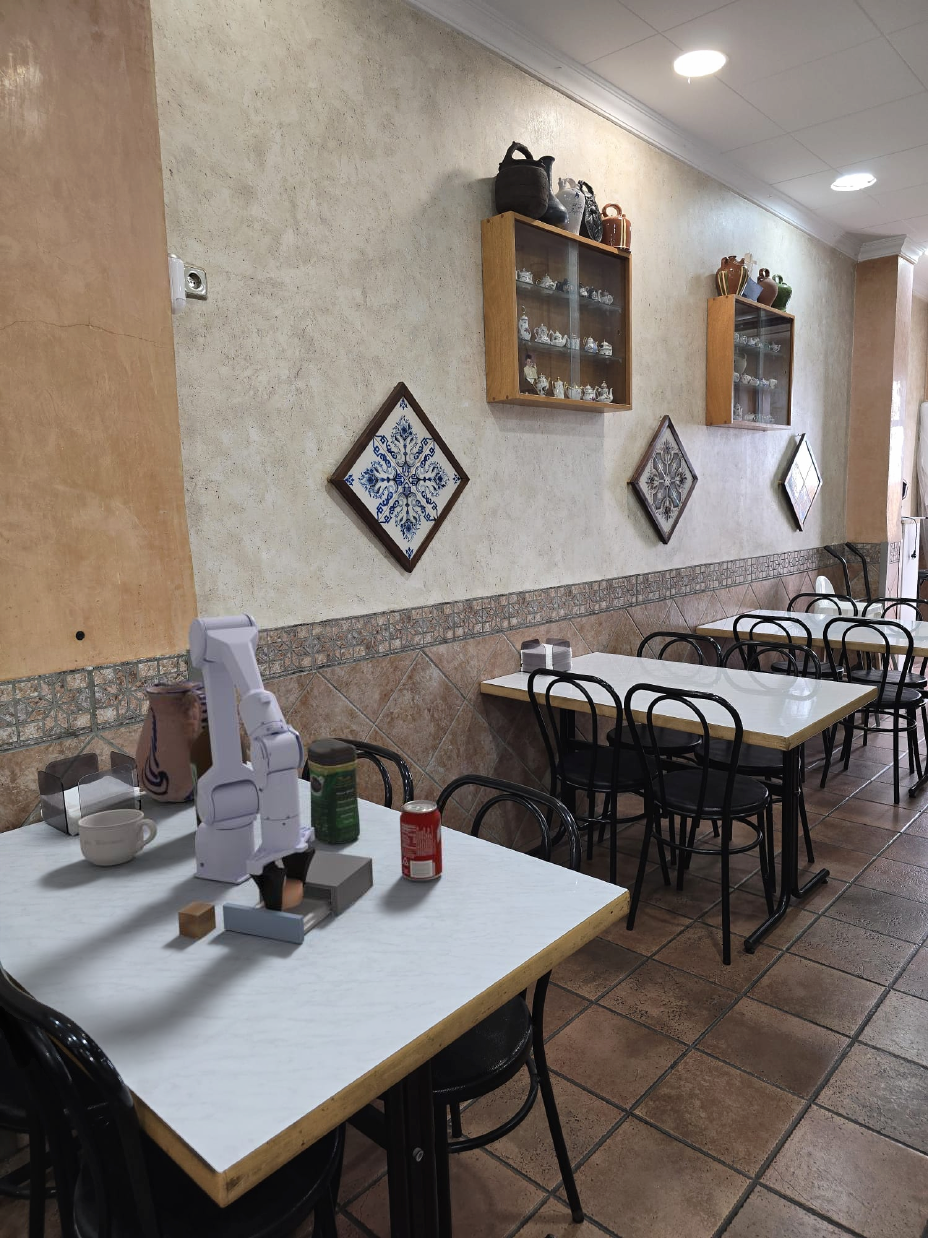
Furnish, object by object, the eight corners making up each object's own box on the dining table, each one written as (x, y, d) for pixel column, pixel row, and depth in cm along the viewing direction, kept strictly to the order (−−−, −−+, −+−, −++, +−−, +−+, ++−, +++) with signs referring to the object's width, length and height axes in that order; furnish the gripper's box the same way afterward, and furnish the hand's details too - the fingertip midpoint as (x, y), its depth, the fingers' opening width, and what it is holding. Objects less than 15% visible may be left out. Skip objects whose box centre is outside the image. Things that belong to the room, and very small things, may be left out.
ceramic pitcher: (183, 780, 194) (177, 675, 191) (249, 792, 183) (243, 682, 181) (119, 802, 179) (111, 689, 176) (186, 817, 168) (179, 697, 166)
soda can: (437, 885, 133) (435, 813, 132) (396, 883, 134) (394, 811, 133) (446, 868, 139) (444, 800, 138) (408, 866, 141) (405, 798, 140)
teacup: (67, 867, 144) (63, 823, 144) (114, 844, 154) (111, 803, 154) (128, 878, 139) (125, 832, 138) (173, 854, 149) (170, 811, 148)
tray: (224, 929, 120) (222, 905, 119) (268, 897, 130) (267, 875, 129) (300, 943, 115) (299, 919, 114) (340, 909, 125) (339, 886, 125)
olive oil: (251, 818, 167) (244, 697, 164) (250, 837, 156) (243, 707, 154) (196, 824, 164) (188, 700, 162) (191, 843, 154) (183, 712, 151)
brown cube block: (179, 935, 119) (177, 912, 118) (196, 924, 122) (194, 901, 122) (199, 939, 117) (198, 915, 117) (216, 927, 121) (214, 904, 120)
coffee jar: (367, 838, 154) (363, 741, 152) (329, 849, 149) (325, 749, 147) (341, 824, 162) (337, 732, 160) (304, 834, 157) (300, 739, 155)
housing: (259, 902, 128) (258, 874, 128) (299, 874, 139) (298, 847, 138) (337, 916, 123) (336, 886, 123) (373, 885, 134) (372, 858, 133)
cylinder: (258, 906, 120) (257, 890, 120) (278, 892, 125) (277, 876, 125) (291, 910, 119) (290, 894, 118) (309, 895, 124) (309, 880, 123)
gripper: (274, 833, 113) (279, 928, 114) (329, 801, 126) (334, 887, 127) (231, 828, 115) (237, 921, 116) (290, 797, 129) (295, 881, 130)
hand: (285, 903), depth 122 cm, fingers closed on cylinder, 5 cm apart
